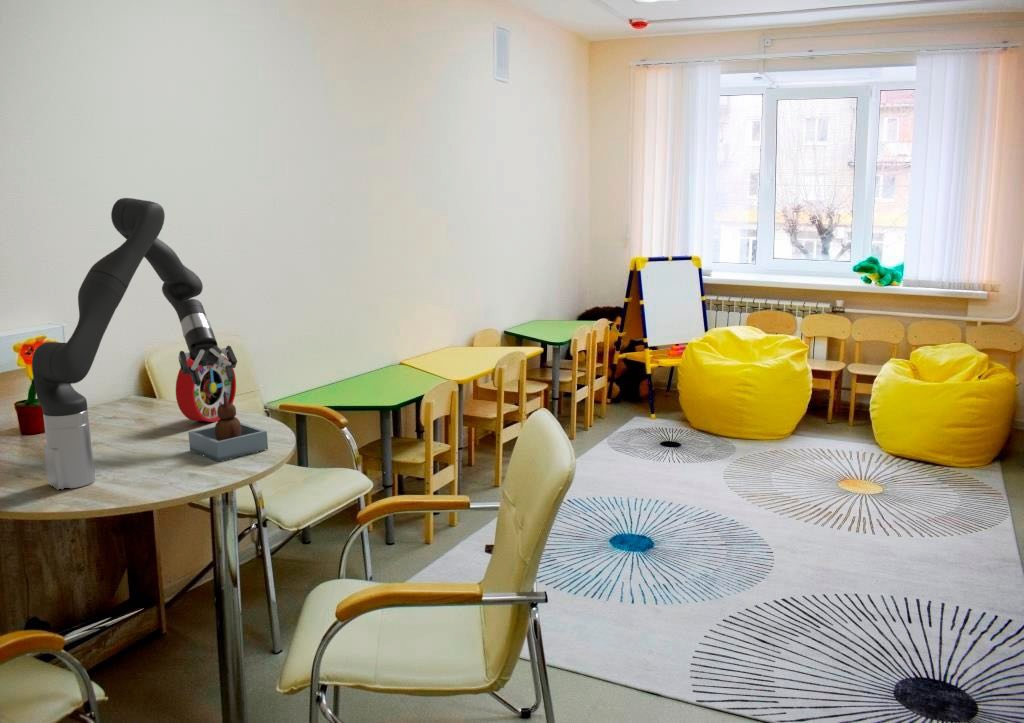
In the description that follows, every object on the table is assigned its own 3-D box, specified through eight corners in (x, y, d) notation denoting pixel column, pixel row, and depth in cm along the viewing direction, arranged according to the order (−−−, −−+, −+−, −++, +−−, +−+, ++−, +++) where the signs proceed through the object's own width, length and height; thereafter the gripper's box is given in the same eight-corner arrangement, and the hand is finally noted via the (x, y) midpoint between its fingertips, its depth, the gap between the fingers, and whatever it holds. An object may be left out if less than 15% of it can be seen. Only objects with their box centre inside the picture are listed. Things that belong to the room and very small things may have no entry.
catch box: (218, 461, 223) (217, 442, 222) (190, 450, 233) (188, 432, 232) (268, 449, 233) (266, 431, 232) (238, 439, 243) (237, 421, 242)
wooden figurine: (233, 450, 229) (229, 393, 226) (212, 449, 230) (208, 392, 227) (245, 442, 236) (241, 387, 233) (225, 442, 237) (221, 387, 234)
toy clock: (195, 429, 253) (189, 360, 250) (178, 428, 255) (172, 359, 251) (238, 412, 272) (233, 348, 268) (222, 411, 274) (217, 347, 270)
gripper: (173, 328, 236) (190, 377, 229) (226, 322, 244) (244, 370, 237) (169, 345, 241) (185, 394, 234) (222, 339, 249) (239, 386, 242)
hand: (215, 382), depth 235 cm, fingers open, 8 cm apart
